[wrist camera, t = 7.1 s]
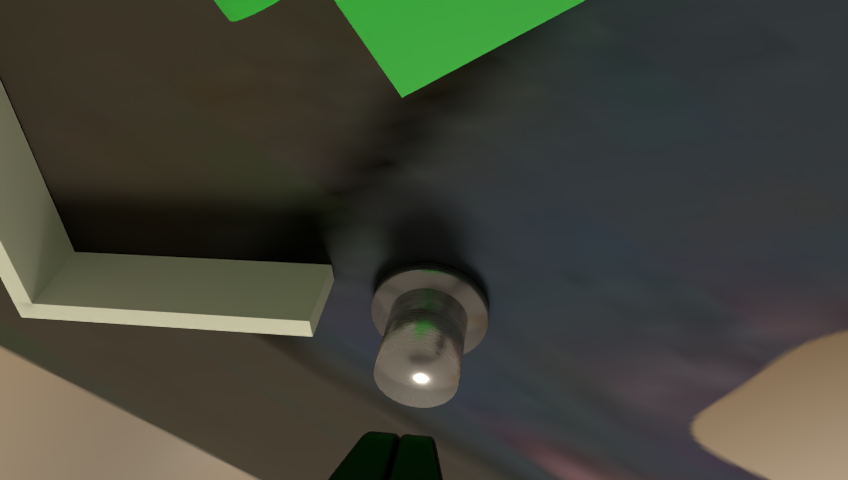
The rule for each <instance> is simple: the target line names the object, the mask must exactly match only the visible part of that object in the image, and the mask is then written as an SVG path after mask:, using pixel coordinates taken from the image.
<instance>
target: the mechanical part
mask: <svg viewBox="0 0 848 480" xmlns="http://www.w3.org/2000/svg"><path fill="white" fill-rule="evenodd" d="M214 1H215V2H216V4H217V5H218V6H219V8H220V9H221V10H222V11H223V13H224V14H225V15H226V17H227V18H228V19H229V20H230V21H238V20H241V19H244V18H246V17H248V16H251V15H253V14H255V13H257V12H259V11H261V10H263V9H265V8H267V7H269V6H270V5H272V4H274V3H276V2H278V1H279V0H214ZM583 1H585V0H335V2H336V3H337V5H338V6H339V8H340V9H341V10H342V12H343V13H344V15H345V16H346V18H347V19H348V21H349V22H350V23H351V25H352V26H353V28H354V29H355V31H356V32H357V33H358V35H359V36H360V38H361V39H362V41H363V42H364V44H365V45H366V46H367V48H368V49H369V51H370V52H371V54H372V55H373V56H374V58H375V59H376V61H377V62H378V64H379V65H380V67H381V68H382V69H383V71H384V72H385V74H386V75H387V77H388V78H389V79H390V81H391V82H392V84H393V85H394V87H395V88H396V90H397V91H398V92H399V94H400V95H401V97H404V96H406V95H408V94H410V93H412V92H414V91H416V90H417V89H419V88H421V87H423V86H425V85H427V84H429V83H431V82H432V81H434V80H436V79H438V78H440V77H442V76H444V75H446V74H448V73H449V72H451V71H453V70H455V69H457V68H459V67H461V66H463V65H464V64H466V63H468V62H470V61H472V60H474V59H476V58H478V57H479V56H481V55H483V54H485V53H487V52H489V51H491V50H493V49H494V48H496V47H498V46H500V45H502V44H504V43H506V42H508V41H509V40H511V39H513V38H515V37H517V36H519V35H521V34H523V33H524V32H526V31H528V30H530V29H532V28H534V27H536V26H538V25H540V24H541V23H543V22H545V21H547V20H549V19H551V18H553V17H555V16H556V15H558V14H560V13H562V12H564V11H566V10H568V9H570V8H571V7H573V6H575V5H577V4H579V3H581V2H583Z"/></svg>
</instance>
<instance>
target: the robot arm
mask: <svg viewBox="0 0 848 480" xmlns="http://www.w3.org/2000/svg"><path fill="white" fill-rule="evenodd" d="M328 480H443V478H442V473H441V468H440V463H439V458H438V453H437V448H436V443H435V440H434V439H433V438H432V437H431V436H422V435H410V434H406V435H403V436H401V438H400V437H399V435H397V434H395V433H386V432H374V431H371V432H367V433H366V434H364V435H363V436H362V437H361V438H360V440H359V441H358V442H357V443H356V445H355V446H354V447H353V448H352V450H351V451H350V452H349V454H348V455H347V456H346V457H345V459H344V460H343V461H342V462H341V464H340V465H339V466H338V467H337V469H336V470H335V471H334V473H333V474H332V475H331V476H330V478H329V479H328Z"/></svg>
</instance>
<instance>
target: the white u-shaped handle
mask: <svg viewBox="0 0 848 480" xmlns="http://www.w3.org/2000/svg"><path fill="white" fill-rule="evenodd" d="M0 277H1V279H2V281H3V283H4V285H5V287H6V289H7V290H8V292H9V294H10V296H11V298H12V300H13V302H14V304H15V306H16V308H17V310H18V312H19V314H20V315H21V317H25V318H40V319H55V320H70V321H85V322H100V323H115V324H130V325H145V326H160V327H175V328H190V329H205V330H220V331H235V332H250V333H265V334H280V335H295V336H310V337H313V334H314V332H315V329H316V327H317V324H318V321H319V319H320V316H321V313H322V311H323V308H324V305H325V303H326V300H327V298H328V295H329V292H330V290H331V287H332V284H333V282H334V276H333V270H332V265H324V264H304V263H284V262H265V261H245V260H225V259H205V258H186V257H166V256H146V255H126V254H107V253H87V252H75V251H74V249H73V247H72V245H71V242H70V240H69V238H68V235H67V233H66V231H65V228H64V226H63V224H62V221H61V219H60V217H59V214H58V212H57V210H56V207H55V205H54V203H53V200H52V198H51V196H50V194H49V191H48V189H47V187H46V184H45V182H44V180H43V177H42V175H41V173H40V170H39V168H38V166H37V163H36V161H35V159H34V156H33V154H32V152H31V150H30V147H29V145H28V143H27V140H26V138H25V136H24V133H23V131H22V129H21V126H20V124H19V122H18V119H17V117H16V115H15V112H14V110H13V108H12V106H11V103H10V101H9V99H8V96H7V94H6V92H5V89H4V87H3V85H2V82H1V80H0Z"/></svg>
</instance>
